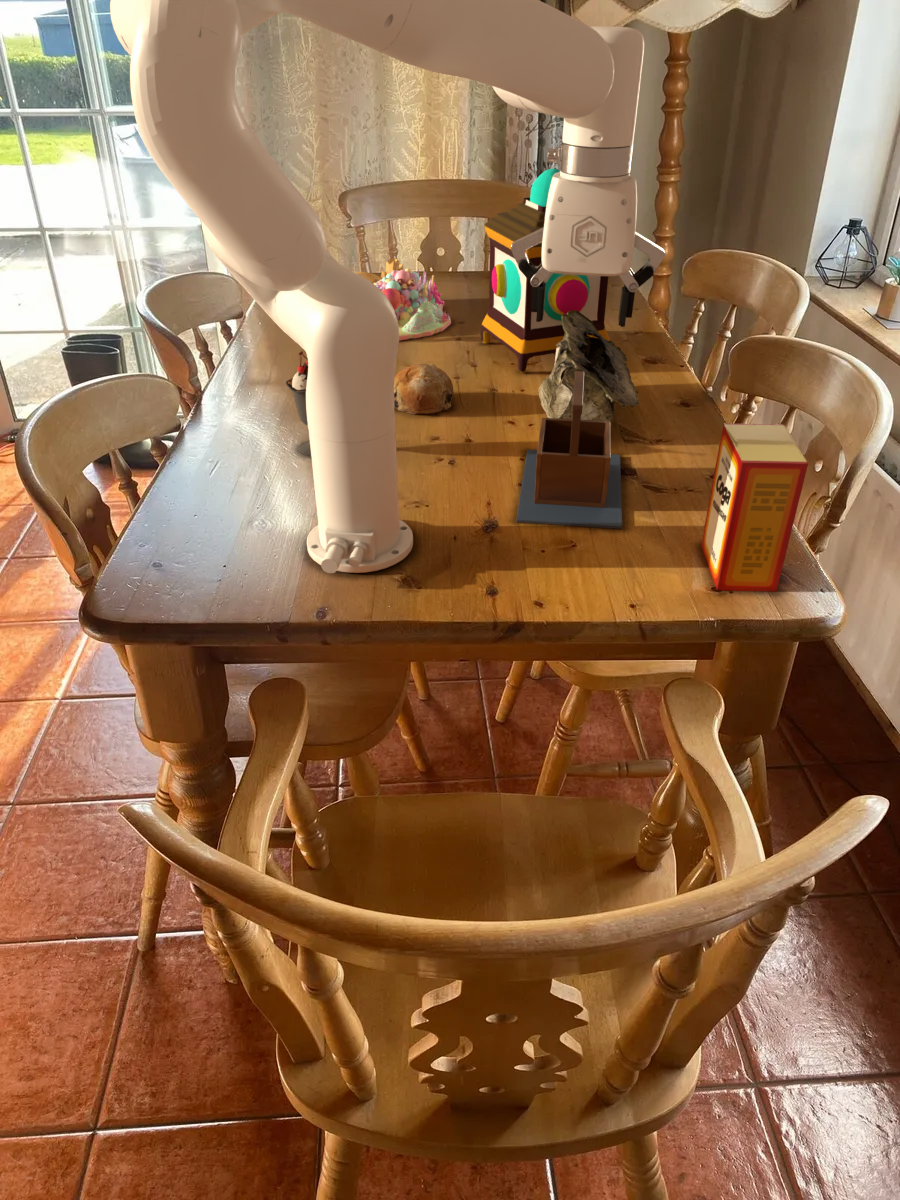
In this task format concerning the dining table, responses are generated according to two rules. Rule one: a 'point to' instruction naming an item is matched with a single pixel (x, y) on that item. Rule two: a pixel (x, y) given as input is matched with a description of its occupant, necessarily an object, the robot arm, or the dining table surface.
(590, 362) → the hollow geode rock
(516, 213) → the decorative lantern
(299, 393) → the sundae
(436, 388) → the bread roll
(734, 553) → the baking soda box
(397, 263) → the candy landscape model
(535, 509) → the placemat
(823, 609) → the dining table surface
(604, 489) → the basket
